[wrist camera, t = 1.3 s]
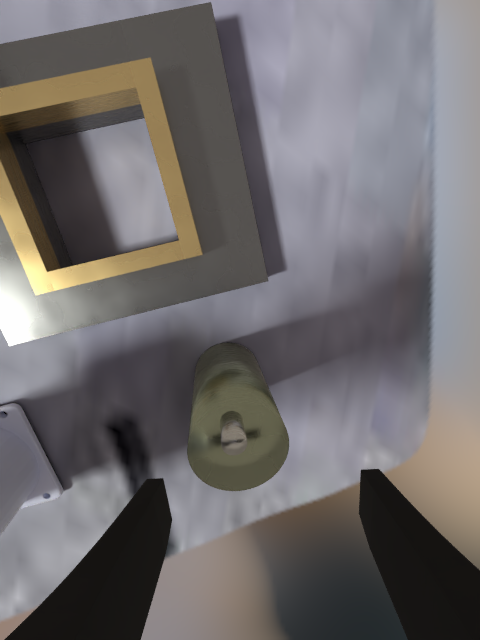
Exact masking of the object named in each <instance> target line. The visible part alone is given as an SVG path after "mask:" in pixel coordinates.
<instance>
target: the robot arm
mask: <svg viewBox="0 0 480 640" xmlns="http://www.w3.org/2000/svg"><path fill="white" fill-rule="evenodd" d="M3 411H4V412H6V413H7V414H8V415H6V414H4V413H3ZM47 493H49V494H47ZM62 493H63V488H62V486H61V484H60V482H59V480H58V478H57V476H56V474H55V472H54V470H53V468H52V466H51V464H50V462H49V460H48V458H47V456H46V455H45V453H44V451H43V449H42V447H41V445H40V443H39V441H38V439H37V437H36V435H35V433H34V431H33V429H32V427H31V425H30V423H29V421H28V419H27V417H26V415H25V413H24V411H23V409H22V408H21V406H20V405H18V404H15V403H11V404H7V405H3V406H0V535H1V534H2V532H3V531H4V530H5V528H6V527H7V526H8V524H9V523H10V521H11V520H12V519H13V517H14V516H15V514H16V513H17V512H18V510H19V509H22V508H25V507H29V506H32V505H36V504H40V503H43V502H47V501H50V500H54V499H57V498H59V497H60V496H61V494H62ZM359 504H360V505H359V515H360V518H361V521H362V525H363V528H364V531H365V534H366V537H367V541H368V544H369V547H370V550H371V552H372V554H373V557H374V559H375V562H376V564H377V566H378V569H379V571H380V574H381V576H382V578H383V581H384V583H385V586H386V588H387V591H388V593H389V595H390V598H391V600H392V602H393V605H394V607H395V610H396V612H397V614H398V617H399V619H400V622H401V624H402V626H403V629H404V631H405V634H406V636H407V639H408V640H480V570H479V569H477V567H475V566H474V565H473V564H472V563H471V562H470V561H469V560H468V559H467V558H466V557H465V556H463V555H462V554H461V553H460V552H459V551H458V550H457V549H456V548H455V547H454V546H453V545H452V544H451V543H450V542H449V541H448V540H446V539H445V538H444V537H443V536H442V535H441V534H440V533H439V532H438V531H437V530H436V529H435V528H434V527H433V526H432V525H431V524H430V523H429V522H428V521H427V520H426V519H425V518H424V517H423V516H422V515H421V514H420V512H418V510H417V509H416V508H415V507H414V506H413V505H412V504H411V503H410V502H409V501H408V500H407V499H406V498H405V497H404V496H403V495H402V494H401V492H400V491H399V490H398V489H397V488H396V487H395V486H394V485H393V484H392V483H391V482H390V481H389V480H388V478H387V477H386V476H385V475H384V474H383V473H382V472H381V471H380V470H379V469H369V470H361V480H360V502H359ZM171 523H172V517H171V512H170V508H169V503H168V498H167V494H166V489H165V485H164V480H163V478H160V479H147V480H146V481H145V482H144V483H143V485H142V486H141V487H140V489H139V490H138V491H137V492H136V494H135V495H134V496H133V498H132V499H131V500H130V502H129V503H128V504H127V506H126V507H125V508H124V509H123V511H122V512H121V513H120V515H119V516H118V517H117V518H116V520H115V521H114V522H113V523H112V525H111V526H110V527H109V528H108V529H107V531H106V532H105V533H104V534H103V536H102V537H101V538H100V539H99V541H98V542H97V543H96V544H95V545H94V546H93V548H92V549H91V550H90V551H89V552H88V553H87V555H86V556H85V557H84V558H83V559H82V560H81V561H80V563H79V564H78V565H77V566H76V567H75V568H74V569H73V571H72V572H71V573H70V574H69V575H68V576H67V577H66V578H65V579H64V580H63V582H62V583H61V584H60V585H59V586H58V587H57V588H56V589H55V590H54V591H53V592H52V593H51V594H50V595H49V596H48V597H47V598H46V599H45V600H44V601H43V602H42V604H41V605H40V606H39V607H38V608H37V609H36V610H35V611H34V612H33V613H31V615H29V616H28V617H27V618H26V619H25V620H24V621H23V622H22V623H21V624H20V625H19V626H18V627H17V628H16V629H15V630H14V631H13V632H12V633H11V634H10V635H9V636H8V637H7V638H6V639H5V640H141V636H142V633H143V629H144V626H145V622H146V619H147V616H148V612H149V609H150V606H151V602H152V598H153V595H154V592H155V588H156V585H157V582H158V578H159V575H160V571H161V568H162V565H163V561H164V557H165V554H166V549H167V544H168V539H169V534H170V528H171Z"/></svg>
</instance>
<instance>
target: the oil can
mask: <svg viewBox="0 0 480 640" xmlns="http://www.w3.org/2000/svg"><path fill="white" fill-rule="evenodd" d="M288 450H289V437H288V433H287V430H286V427H285V425H284V423H283V420H282V418H281V416H280V413H279V411H278V409H277V406H276V404H275V402H274V400H273V397H272V395H271V393H270V390H269V388H268V386H267V383H266V381H265V379H264V376H263V374H262V372H261V369H260V367H259V365H258V362H257V360H256V358H255V356H254V355H253V354H252V352H251V351H250V350H248V349H247V348H246V347H244V346H242V345H239V344H236V343H220V344H217V345H214V346H212V347H210V348H209V349H207V350H206V351H205V352H204V353H203V354H202V355H201V357H200V358H199V360H198V362H197V365H196V369H195V379H194V389H193V399H192V408H191V418H190V428H189V438H188V449H187V454H188V460H189V463H190V466H191V468H192V470H193V471H194V473H195V474H196V475H197V476H198V478H200V479H201V480H202V481H203V482H205V483H206V484H208V485H210V486H212V487H214V488H217V489H221V490H226V491H241V490H247V489H251V488H254V487H257V486H259V485H261V484H263V483H265V482H266V481H268V480H269V479H270V478H272V477H273V476H274V475H275V474H276V473H277V472H278V471H279V470H280V468H281V467H282V465H283V464H284V462H285V460H286V457H287V454H288Z"/></svg>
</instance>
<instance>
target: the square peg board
mask: <svg viewBox="0 0 480 640" xmlns="http://www.w3.org/2000/svg"><path fill="white" fill-rule="evenodd" d="M140 118H145V121H146V124H147V128H148V131H149V135H150V138H151V142H152V146H153V149H154V153H155V156H156V160H157V163H158V167H159V170H160V174H161V178H162V181H163V185H164V188H165V192H166V195H167V199H168V202H169V206H170V210H171V213H172V217H173V220H174V224H175V227H176V231H177V234H178V238H179V241H174V242H170V243H166V244H162V245H158V246H154V247H149V248H145V249H141V250H137V251H133V252H129V253H124V254H120V255H116V256H112V257H108V258H104V259H99V260H95V261H91V262H87V263H83V264H79V265H74V266H73V265H72V263H71V260H70V258H69V255H68V252H67V250H66V247H65V245H64V242H63V240H62V237H61V234H60V232H59V229H58V227H57V224H56V222H55V219H54V217H53V214H52V211H51V209H50V206H49V204H48V201H47V199H46V196H45V194H44V191H43V188H42V186H41V183H40V181H39V178H38V176H37V173H36V170H35V168H34V165H33V163H32V160H31V158H30V155H29V153H28V150H27V147H26V145H25V143H30V142H34V141H39V140H44V139H48V138H53V137H57V136H62V135H67V134H71V133H76V132H80V131H85V130H90V129H94V128H99V127H103V126H108V125H113V124H117V123H122V122H126V121H131V120H136V119H140ZM266 281H268V277H267V272H266V267H265V262H264V257H263V252H262V248H261V243H260V238H259V233H258V228H257V223H256V218H255V214H254V209H253V204H252V199H251V194H250V189H249V184H248V180H247V175H246V170H245V165H244V160H243V155H242V150H241V145H240V141H239V136H238V131H237V126H236V121H235V116H234V111H233V107H232V102H231V97H230V92H229V87H228V82H227V77H226V73H225V68H224V63H223V58H222V53H221V48H220V43H219V38H218V34H217V29H216V24H215V19H214V14H213V9H212V4H211V2H209V3H204V4H199V5H194V6H189V7H184V8H179V9H174V10H169V11H164V12H159V13H154V14H149V15H144V16H139V17H134V18H129V19H124V20H119V21H114V22H109V23H104V24H99V25H94V26H89V27H84V28H79V29H74V30H69V31H64V32H59V33H54V34H49V35H44V36H39V37H34V38H29V39H24V40H19V41H14V42H9V43H4V44H0V328H1V330H2V332H3V334H4V336H5V338H6V340H7V342H8V344H9V346H11V345H15V344H19V343H23V342H27V341H31V340H35V339H39V338H43V337H47V336H51V335H55V334H59V333H63V332H67V331H71V330H75V329H79V328H83V327H87V326H91V325H95V324H99V323H103V322H107V321H111V320H115V319H119V318H123V317H127V316H131V315H135V314H139V313H143V312H147V311H151V310H155V309H159V308H163V307H167V306H171V305H175V304H179V303H183V302H187V301H191V300H195V299H199V298H203V297H207V296H211V295H215V294H219V293H223V292H227V291H231V290H235V289H239V288H243V287H247V286H251V285H255V284H259V283H262V282H266Z"/></svg>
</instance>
